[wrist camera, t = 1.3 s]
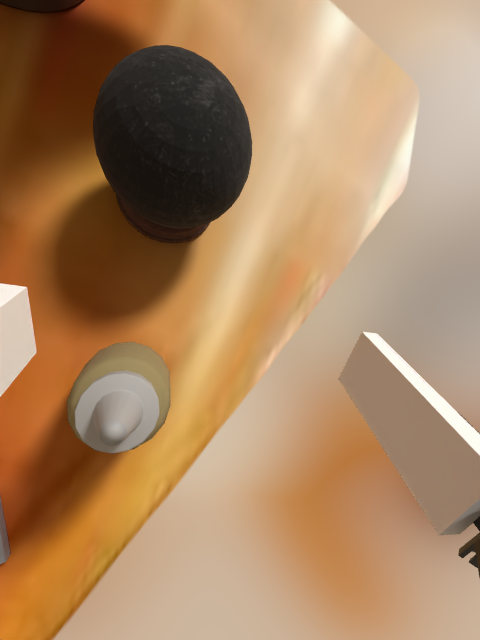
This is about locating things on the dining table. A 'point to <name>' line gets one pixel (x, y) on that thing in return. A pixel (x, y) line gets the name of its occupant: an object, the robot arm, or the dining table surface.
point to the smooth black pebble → (171, 141)
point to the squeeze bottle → (120, 398)
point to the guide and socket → (3, 538)
